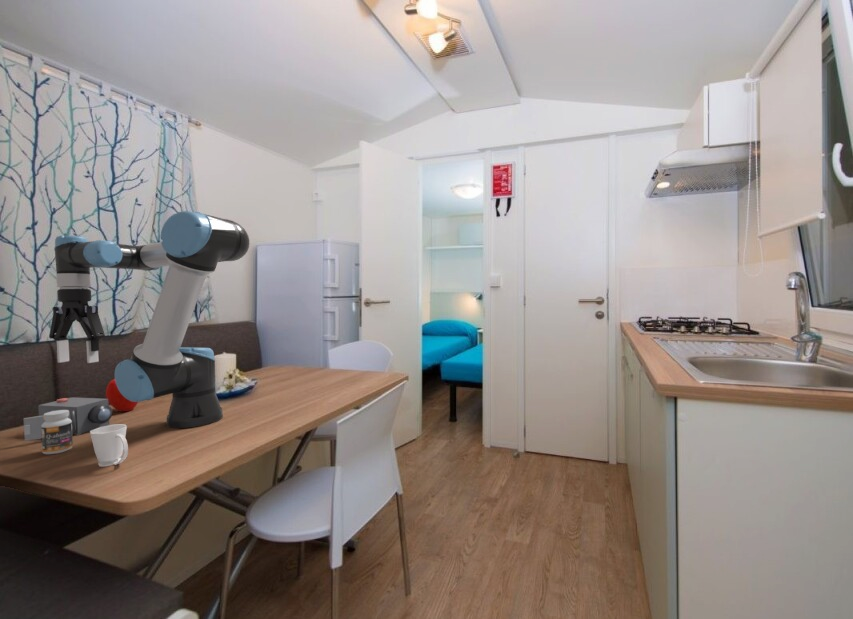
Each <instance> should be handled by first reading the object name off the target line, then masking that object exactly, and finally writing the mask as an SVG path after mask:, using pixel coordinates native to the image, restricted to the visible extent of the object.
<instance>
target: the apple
mask: <svg viewBox="0 0 853 619" xmlns="http://www.w3.org/2000/svg"><path fill="white" fill-rule="evenodd" d="M105 399H108V404H109V405H111V407H113V408H114V409H115V410H116V411H118V412H130V411H132V410H134V409H135V407H136V406H137V404H138V403H139V402H133V401H130V400H128V399H126V398H125V397H124V396H123V395H122V394H121V393H120V391H119V390H118V387H117V385H116V382H115V378H114V379H111V380H110V381H109V382H108V384H107V386H106V389H105Z"/></svg>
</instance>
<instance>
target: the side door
mask: <svg viewBox="0 0 853 619" xmlns="http://www.w3.org/2000/svg"><path fill="white" fill-rule="evenodd" d="M68 418H69V419H71V420H72V434H74V433H76V428H75V410H72V411H70V412H69V416H68ZM44 422H45V420H44V415H43V416H39V415H37V416H30V417H23V433H24V435H23V436H24V442H30V441H33V440H40V439H41V440H42V432H41V426H42V424H43V423H44Z"/></svg>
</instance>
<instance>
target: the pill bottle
mask: <svg viewBox="0 0 853 619" xmlns="http://www.w3.org/2000/svg"><path fill="white" fill-rule="evenodd" d="M68 416H69V410H57V411H52V412H48V413H45V414H44V420H45V422H44V423H43V424H42V426H41V432H42V438H41V448H42V449H41V451H42V452H41V453H42V454H44V455H56V454H61V453H64V452H67V451H69V450H71V449H72V448H73V447H74V445H73V444H74V442H73V441H74V440H73V439H74V438H73V435H72V420H71V419H69V418H68Z"/></svg>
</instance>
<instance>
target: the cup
mask: <svg viewBox="0 0 853 619" xmlns="http://www.w3.org/2000/svg"><path fill="white" fill-rule="evenodd" d="M127 428H128V426H127V425H126V423H123V424H122V423H121V424H119V423H118V424H117V423H116V424H115V423H113V424H109V425H107V426H103V427H99V428H96V429H94V430H91V431H89V433H90V437H91V442H92V445H93V451H94V453H95V456H96V458H97V462H98V463H97V464H98V467H109V466H113V465H114V466H117V465H120V464H121V463H123V462H124V461H125V460H126V458H127V457H128V455H129V445H128V440H127V439H126V435H127V430H128V429H127Z"/></svg>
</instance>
